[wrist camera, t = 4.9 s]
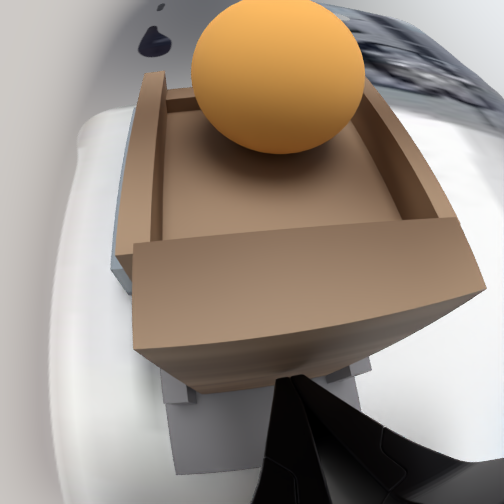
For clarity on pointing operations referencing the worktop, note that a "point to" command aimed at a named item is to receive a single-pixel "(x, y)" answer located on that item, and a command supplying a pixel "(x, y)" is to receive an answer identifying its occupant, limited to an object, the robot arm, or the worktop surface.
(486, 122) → the worktop surface
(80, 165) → the worktop surface
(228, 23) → the ball
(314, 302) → the brown wooden angled piece
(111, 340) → the worktop surface
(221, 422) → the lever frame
